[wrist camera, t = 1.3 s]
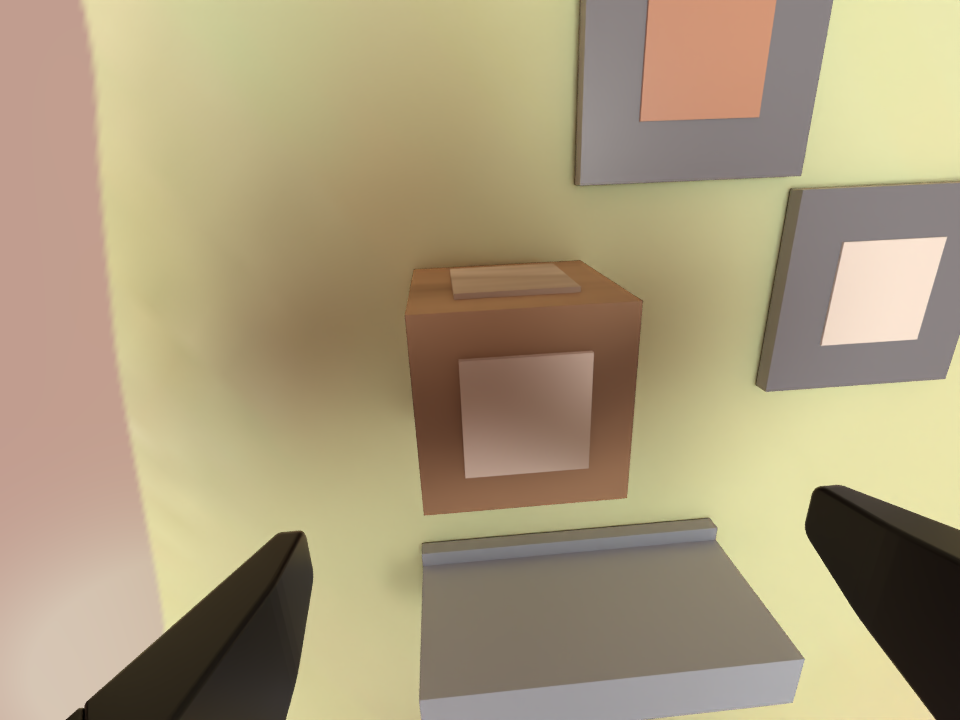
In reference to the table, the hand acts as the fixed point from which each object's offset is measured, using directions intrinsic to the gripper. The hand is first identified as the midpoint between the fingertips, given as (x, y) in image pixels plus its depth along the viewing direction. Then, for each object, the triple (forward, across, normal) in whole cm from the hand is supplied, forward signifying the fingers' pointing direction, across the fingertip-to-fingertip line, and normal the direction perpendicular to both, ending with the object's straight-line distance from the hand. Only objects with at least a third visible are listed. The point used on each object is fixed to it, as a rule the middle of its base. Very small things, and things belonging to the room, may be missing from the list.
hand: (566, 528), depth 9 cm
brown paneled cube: (+10, 0, 0) cm, 10 cm away
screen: (+10, -3, +10) cm, 14 cm away
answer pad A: (+9, -13, -1) cm, 16 cm away
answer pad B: (+9, -6, -9) cm, 14 cm away
